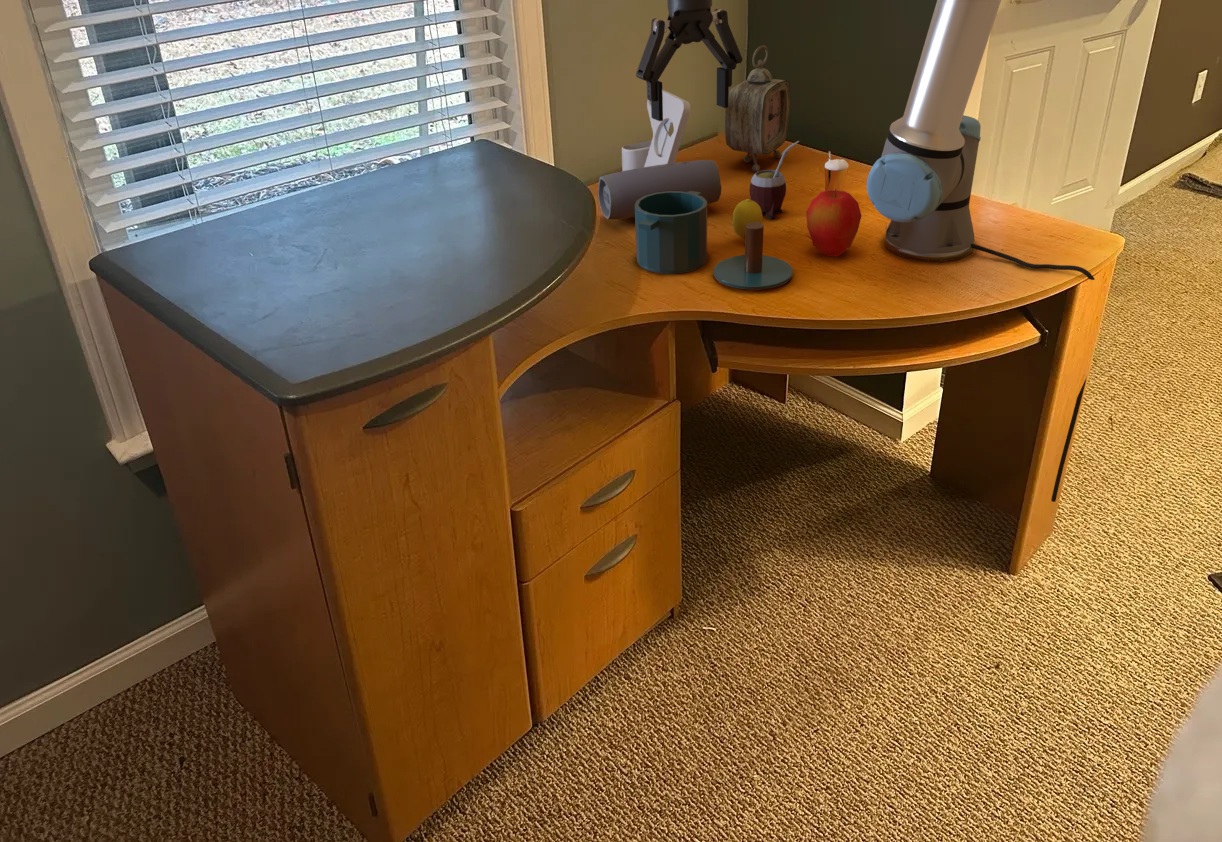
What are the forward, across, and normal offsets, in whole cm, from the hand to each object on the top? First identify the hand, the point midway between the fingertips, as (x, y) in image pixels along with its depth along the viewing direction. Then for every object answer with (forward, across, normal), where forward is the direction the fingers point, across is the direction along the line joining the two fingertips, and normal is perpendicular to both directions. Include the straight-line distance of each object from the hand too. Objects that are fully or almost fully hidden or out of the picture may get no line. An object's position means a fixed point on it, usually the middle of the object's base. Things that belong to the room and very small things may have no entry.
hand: (690, 112), depth 175 cm
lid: (+22, +2, +23) cm, 32 cm away
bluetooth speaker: (+22, +1, -11) cm, 25 cm away
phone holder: (+22, -9, -29) cm, 38 cm away
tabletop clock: (+22, -33, -26) cm, 48 cm away
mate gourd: (+23, -18, +1) cm, 29 cm away
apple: (+23, -15, +23) cm, 35 cm away
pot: (+22, +10, +9) cm, 26 cm away
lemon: (+23, -6, +10) cm, 25 cm away
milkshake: (+23, -31, +4) cm, 38 cm away
